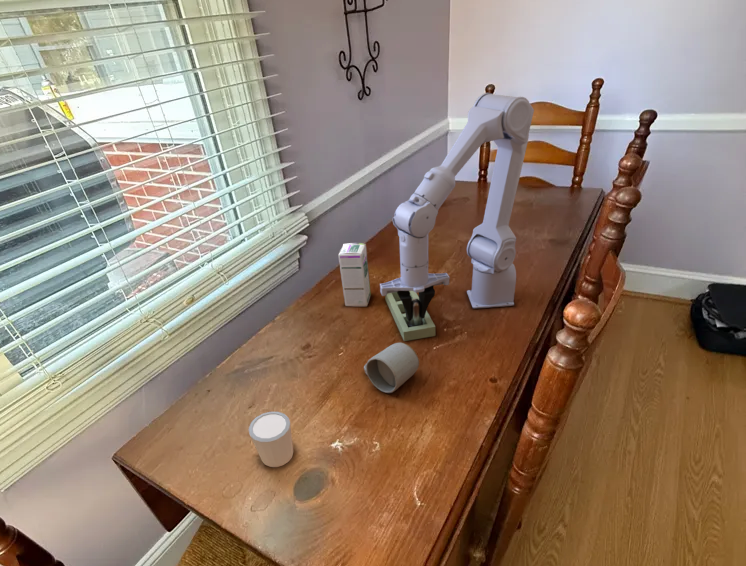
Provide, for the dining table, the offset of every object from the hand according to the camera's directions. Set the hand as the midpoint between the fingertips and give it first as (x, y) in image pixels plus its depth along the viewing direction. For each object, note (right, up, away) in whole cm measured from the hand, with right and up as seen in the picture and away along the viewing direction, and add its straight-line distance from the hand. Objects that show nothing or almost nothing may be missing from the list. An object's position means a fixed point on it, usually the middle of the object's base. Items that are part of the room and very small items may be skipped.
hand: (415, 317), depth 105 cm
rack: (0, +1, +7) cm, 7 cm away
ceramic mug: (-7, -13, -10) cm, 18 cm away
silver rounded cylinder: (0, -3, +2) cm, 3 cm away
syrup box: (-12, +5, +15) cm, 20 cm away
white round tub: (-27, -25, -23) cm, 44 cm away
